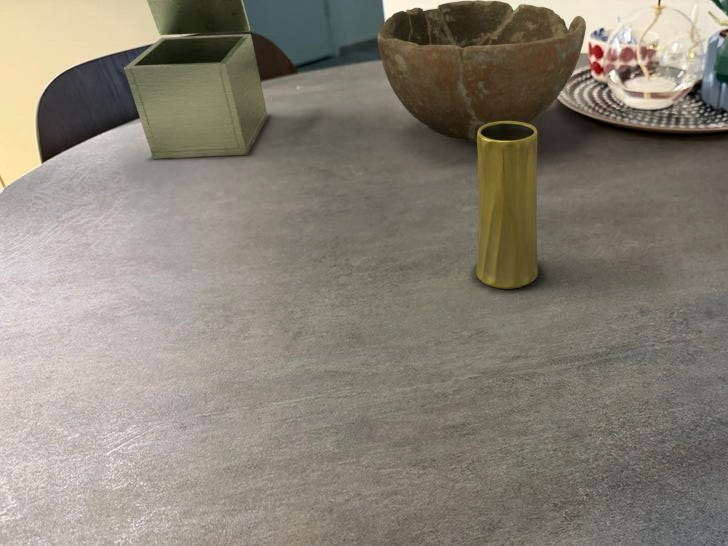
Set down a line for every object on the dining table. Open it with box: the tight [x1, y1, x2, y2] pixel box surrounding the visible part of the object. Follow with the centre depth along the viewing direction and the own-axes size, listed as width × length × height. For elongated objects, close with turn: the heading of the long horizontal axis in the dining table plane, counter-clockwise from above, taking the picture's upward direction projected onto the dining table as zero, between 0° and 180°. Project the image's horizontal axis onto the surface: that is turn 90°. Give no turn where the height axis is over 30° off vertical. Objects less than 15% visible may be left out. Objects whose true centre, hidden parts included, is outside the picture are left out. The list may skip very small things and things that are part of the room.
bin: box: [123, 33, 269, 160], centre depth 98 cm, size 16×13×12 cm
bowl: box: [376, 0, 587, 142], centre depth 96 cm, size 28×27×15 cm
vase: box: [475, 121, 539, 290], centre depth 65 cm, size 6×6×14 cm
